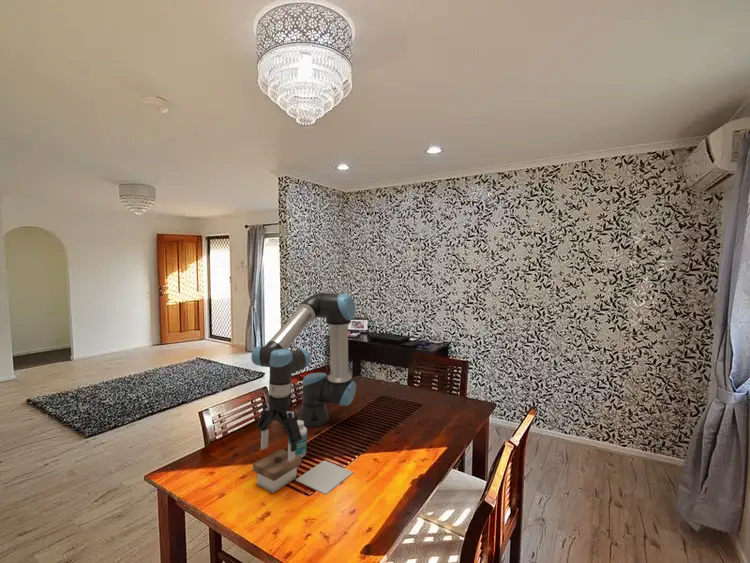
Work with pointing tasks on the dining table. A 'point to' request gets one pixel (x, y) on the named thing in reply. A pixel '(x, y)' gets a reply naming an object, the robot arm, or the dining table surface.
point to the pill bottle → (302, 443)
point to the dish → (276, 481)
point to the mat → (324, 477)
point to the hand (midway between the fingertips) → (277, 453)
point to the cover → (276, 465)
